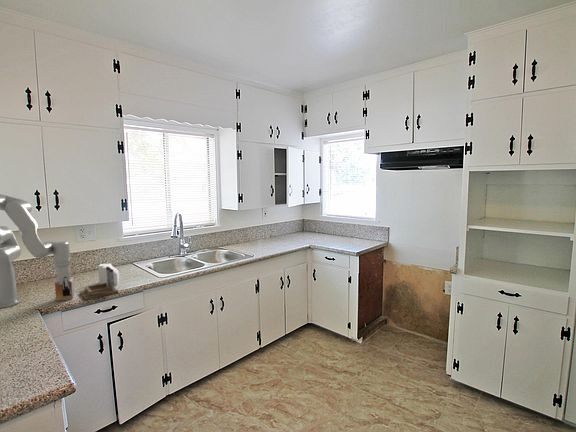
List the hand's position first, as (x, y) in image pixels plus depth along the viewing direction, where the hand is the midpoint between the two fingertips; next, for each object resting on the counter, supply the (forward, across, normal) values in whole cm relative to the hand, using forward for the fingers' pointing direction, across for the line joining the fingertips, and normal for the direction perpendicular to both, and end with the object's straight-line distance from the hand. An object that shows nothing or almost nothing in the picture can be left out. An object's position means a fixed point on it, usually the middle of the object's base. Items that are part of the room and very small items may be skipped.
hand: (65, 293), depth 183 cm
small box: (+3, 0, 0) cm, 3 cm away
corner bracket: (+3, -13, +26) cm, 29 cm away
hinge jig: (+3, +4, +16) cm, 17 cm away
